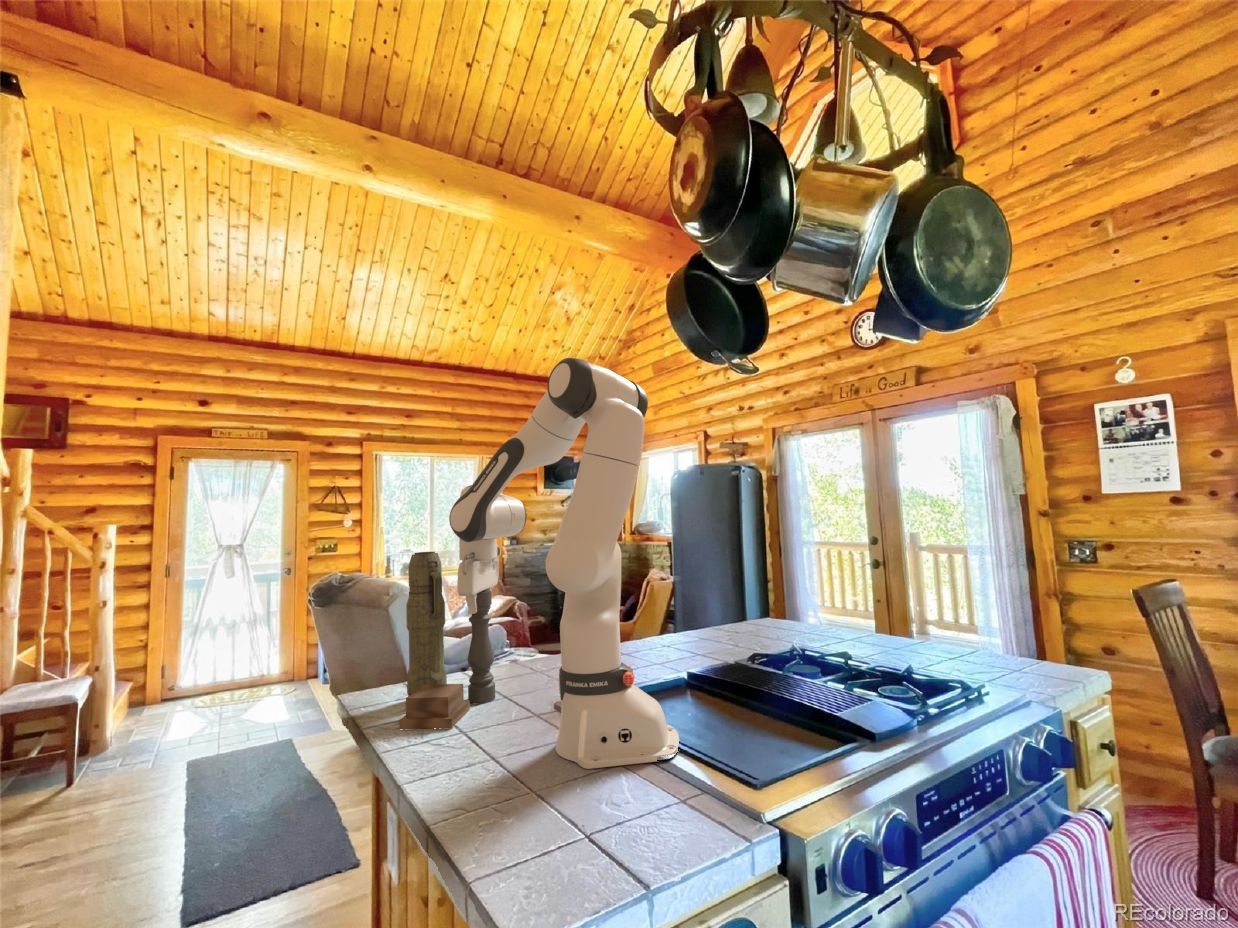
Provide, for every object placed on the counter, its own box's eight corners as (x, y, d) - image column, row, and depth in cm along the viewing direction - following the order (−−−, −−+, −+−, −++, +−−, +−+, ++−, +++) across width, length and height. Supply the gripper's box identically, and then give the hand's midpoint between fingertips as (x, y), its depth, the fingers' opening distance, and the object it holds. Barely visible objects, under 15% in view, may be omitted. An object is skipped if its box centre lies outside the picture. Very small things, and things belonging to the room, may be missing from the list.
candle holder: (500, 697, 131) (497, 590, 133) (481, 705, 126) (478, 594, 128) (482, 693, 134) (479, 589, 136) (462, 701, 129) (460, 593, 131)
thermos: (428, 711, 124) (425, 553, 127) (395, 703, 130) (393, 554, 133) (459, 699, 131) (455, 550, 134) (426, 692, 137) (424, 551, 141)
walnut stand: (469, 709, 123) (469, 682, 123) (451, 728, 112) (451, 698, 113) (421, 711, 124) (421, 683, 124) (399, 730, 113) (398, 700, 113)
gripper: (477, 554, 123) (478, 617, 121) (502, 548, 143) (504, 602, 142) (449, 555, 123) (450, 618, 122) (478, 549, 143) (480, 603, 142)
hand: (479, 609), depth 132 cm, fingers open, 8 cm apart
